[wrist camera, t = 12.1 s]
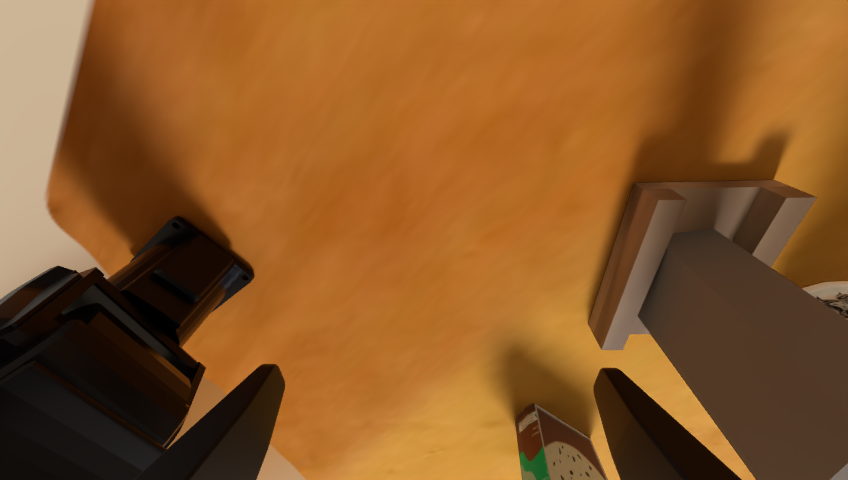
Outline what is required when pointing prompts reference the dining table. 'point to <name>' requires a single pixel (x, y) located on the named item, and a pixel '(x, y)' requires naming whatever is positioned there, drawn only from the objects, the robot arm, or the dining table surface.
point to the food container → (554, 449)
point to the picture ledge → (682, 212)
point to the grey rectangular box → (754, 356)
